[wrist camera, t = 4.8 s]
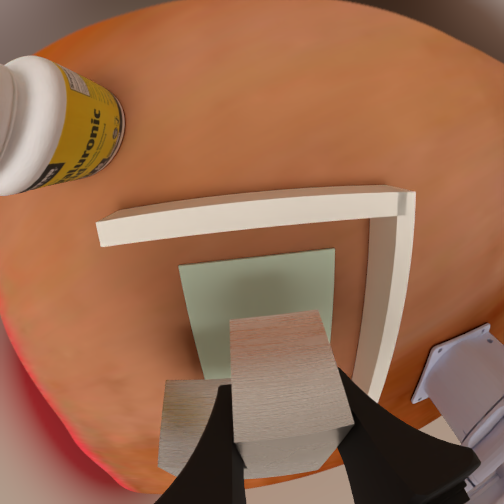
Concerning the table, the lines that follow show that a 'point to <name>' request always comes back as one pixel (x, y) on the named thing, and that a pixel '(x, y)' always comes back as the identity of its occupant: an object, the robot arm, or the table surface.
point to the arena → (299, 212)
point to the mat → (253, 297)
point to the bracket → (266, 399)
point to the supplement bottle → (53, 125)
